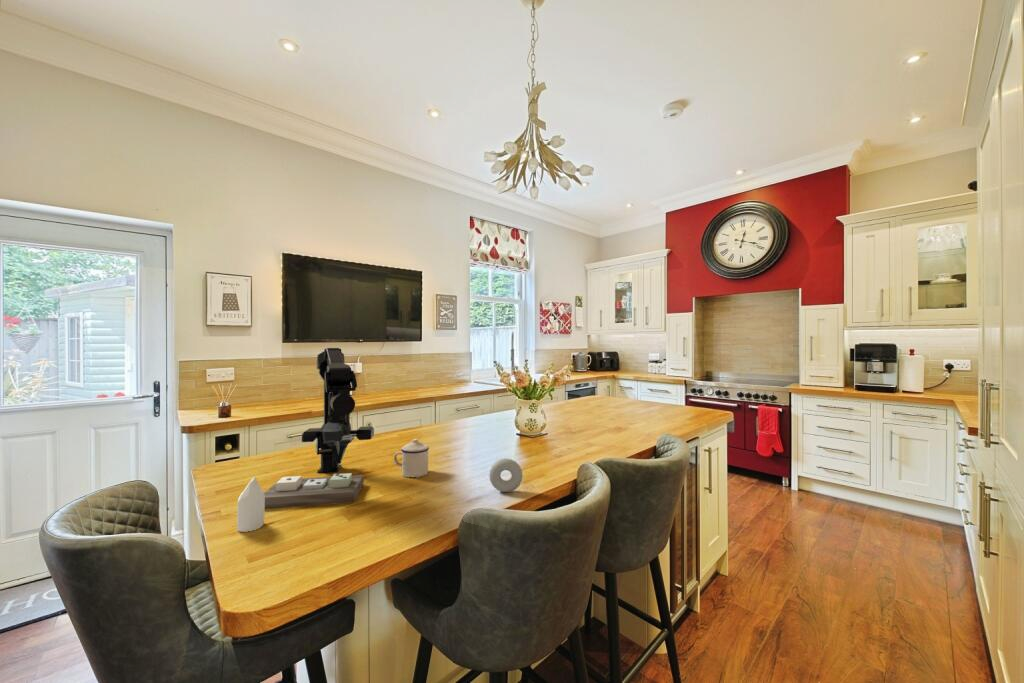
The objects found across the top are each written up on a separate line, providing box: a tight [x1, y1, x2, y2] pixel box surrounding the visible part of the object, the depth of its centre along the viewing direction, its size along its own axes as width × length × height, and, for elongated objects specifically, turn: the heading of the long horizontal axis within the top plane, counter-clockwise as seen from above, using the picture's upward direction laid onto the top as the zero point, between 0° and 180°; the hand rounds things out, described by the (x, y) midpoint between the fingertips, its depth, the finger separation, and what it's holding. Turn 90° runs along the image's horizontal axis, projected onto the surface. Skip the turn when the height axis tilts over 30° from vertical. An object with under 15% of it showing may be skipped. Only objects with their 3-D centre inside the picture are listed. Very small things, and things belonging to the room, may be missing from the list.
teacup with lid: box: [393, 438, 430, 479], centre depth 134 cm, size 12×9×12 cm
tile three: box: [330, 472, 353, 488], centre depth 116 cm, size 5×5×3 cm
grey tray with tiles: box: [264, 474, 364, 510], centre depth 114 cm, size 14×24×3 cm, turn 101°
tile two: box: [303, 479, 327, 490], centre depth 114 cm, size 5×5×3 cm
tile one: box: [275, 475, 302, 491], centre depth 113 cm, size 5×5×3 cm
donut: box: [489, 458, 524, 493], centre depth 118 cm, size 10×4×10 cm, turn 89°
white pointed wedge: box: [236, 476, 266, 533], centre depth 95 cm, size 6×12×6 cm
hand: (339, 463), depth 115 cm, fingers closed
